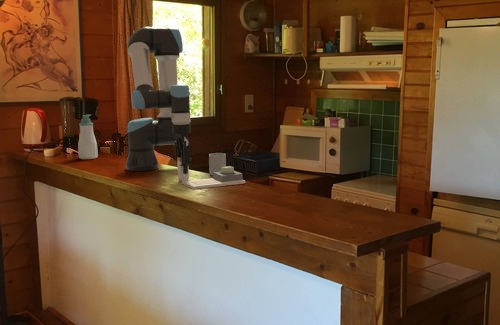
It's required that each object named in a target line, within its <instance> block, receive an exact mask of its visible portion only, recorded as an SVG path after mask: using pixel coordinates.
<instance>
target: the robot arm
mask: <svg viewBox="0 0 500 325" xmlns="http://www.w3.org/2000/svg"><path fill="white" fill-rule="evenodd" d="M183 45H184V44H183V38H182V34H181V31H180V29H179V28H178V27H176V26H175V27H174V26H173V27H172V26H144V27H141V28H138V29H137V30H135V31H134V32H133V33H132V34H131V36H130V38H129V39H128V42H127V54H128V56H129V57H130V59H131V68H132V77H133V82H134V90H132V91H131V92H130V95H131V97H130V98H131V106H132V108H133V109H136V110H147V109H148V110H149V109H160V110H159V112H160V113H158V115H156V120H154V118H153V117H143V118H138V119H132V120H130V121H129V122H128V123H127V131H126V133H127V139H128V140H127V141H128V155H127V158H126V162H125V169H126V170H127V171H131V172H145V171H146V172H147V171H153V170H157V169H159V167H160V166H159V165H160V163H159V160H158V158H157V155H156V152H155V146H165V145H166V146H168V145H170V146H171V145H172V146H174V154H175V155H174V156H175V162H176V163H177V157H181V159H182V165H180V166H181V174H182V183H183V181H190V174H189V175H188V165H191V140H189V138H188V134H190V133H192V132H191V131H192V130H191V127H192V126H191V125H192V124H191V122H192V120H191V110H190V108H191V107H190V106H191V105H190V104H191V103H190V95H191V94H190V87H189V85H188V84H178V64H177V60H179V58H180V54H182V53H183V51H184V48H183V47H184V46H183ZM149 54H153V56H154V59H155V60H157V71H158V72H157V73H158V89H154V84H153V77H152V72H151V66H150V64H151V63H150V59H149ZM177 181H179V179H178V178H177Z"/></svg>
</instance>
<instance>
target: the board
mask: <svg viewBox="0 0 500 325" xmlns="http://www.w3.org/2000/svg"><path fill="white" fill-rule="evenodd" d="M243 178H244V177H243V173H241V172H239V171H236V170H234V174H227V175H223V174H221V172H213V176H212V177H211V178H202V179H195V180H194V179H193V180H189V181H183V182H182V184H183V185H184V186H186V187H188V188H190V189H192V190H198V189H207V188H216V187H224V186H232V185H233V186H234V185H242V184H246V180H244V179H243Z"/></svg>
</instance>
